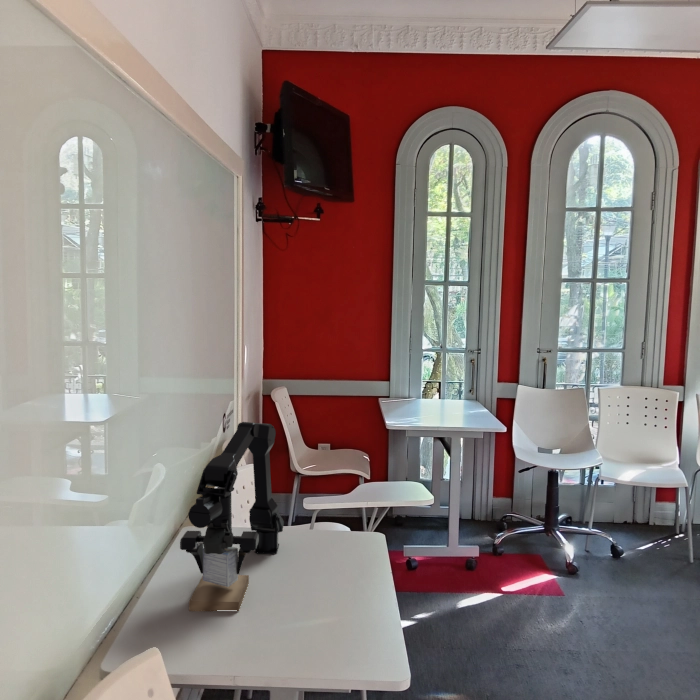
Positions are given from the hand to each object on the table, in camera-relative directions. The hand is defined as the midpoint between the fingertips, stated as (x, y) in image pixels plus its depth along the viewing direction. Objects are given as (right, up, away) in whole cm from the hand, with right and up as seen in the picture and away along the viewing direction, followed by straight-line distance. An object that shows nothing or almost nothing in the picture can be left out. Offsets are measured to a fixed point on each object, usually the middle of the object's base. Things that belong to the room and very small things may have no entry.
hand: (220, 573), depth 152 cm
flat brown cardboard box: (0, -7, +1) cm, 7 cm away
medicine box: (0, -2, 0) cm, 2 cm away
